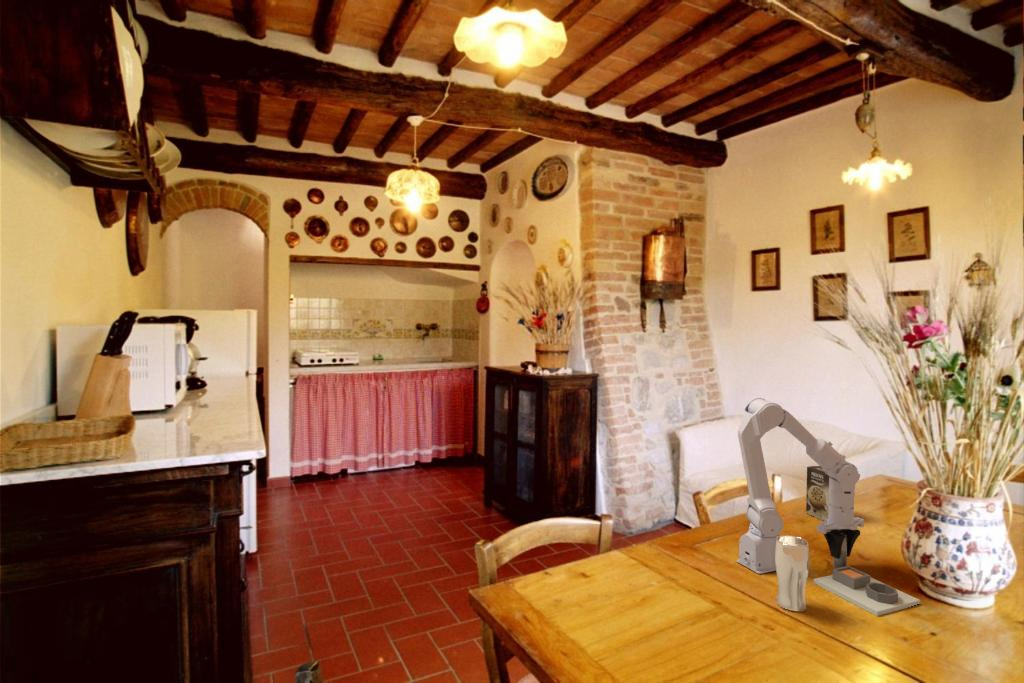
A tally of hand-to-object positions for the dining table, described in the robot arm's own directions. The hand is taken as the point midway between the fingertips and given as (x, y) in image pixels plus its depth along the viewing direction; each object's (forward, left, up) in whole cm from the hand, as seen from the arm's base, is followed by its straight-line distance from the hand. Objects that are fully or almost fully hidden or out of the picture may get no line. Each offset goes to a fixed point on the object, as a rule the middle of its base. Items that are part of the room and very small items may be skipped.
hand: (840, 556), depth 141 cm
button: (-7, -9, -1) cm, 11 cm away
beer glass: (-28, -10, -3) cm, 30 cm away
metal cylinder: (0, 0, -3) cm, 3 cm away
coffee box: (+28, +28, -3) cm, 40 cm away
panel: (-7, -12, -3) cm, 14 cm away
